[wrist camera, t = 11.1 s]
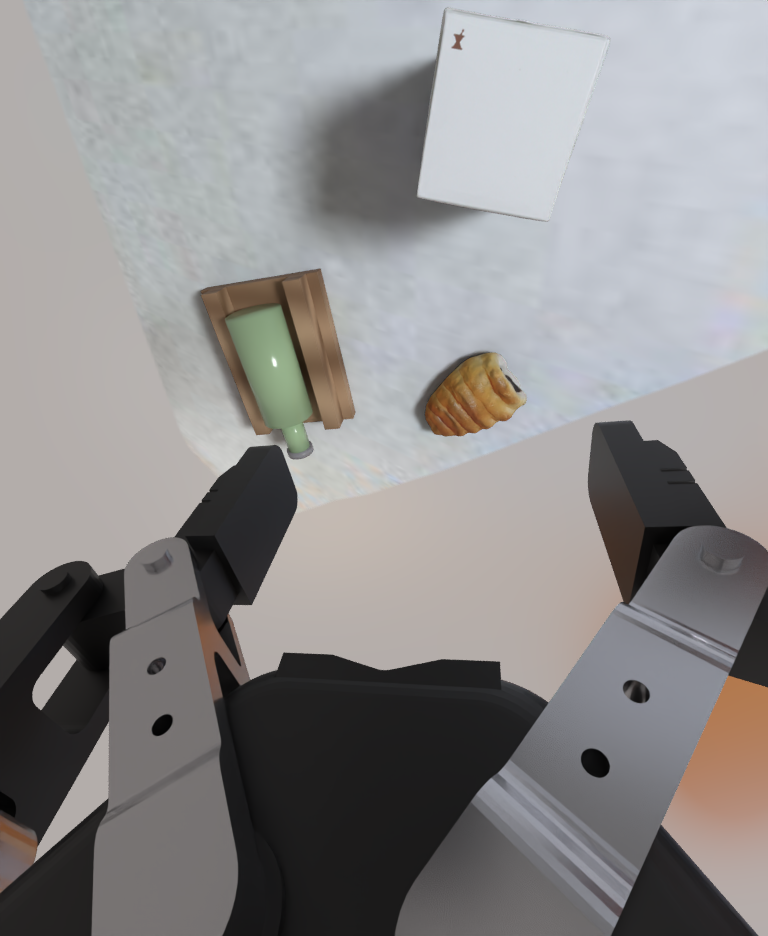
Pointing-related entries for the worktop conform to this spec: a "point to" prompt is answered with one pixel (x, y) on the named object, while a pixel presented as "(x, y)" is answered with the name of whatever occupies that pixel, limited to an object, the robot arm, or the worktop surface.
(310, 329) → the cradle
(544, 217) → the supplement box
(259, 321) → the bottle
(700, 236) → the worktop surface
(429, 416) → the pastry
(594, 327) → the worktop surface
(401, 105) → the worktop surface
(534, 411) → the worktop surface
